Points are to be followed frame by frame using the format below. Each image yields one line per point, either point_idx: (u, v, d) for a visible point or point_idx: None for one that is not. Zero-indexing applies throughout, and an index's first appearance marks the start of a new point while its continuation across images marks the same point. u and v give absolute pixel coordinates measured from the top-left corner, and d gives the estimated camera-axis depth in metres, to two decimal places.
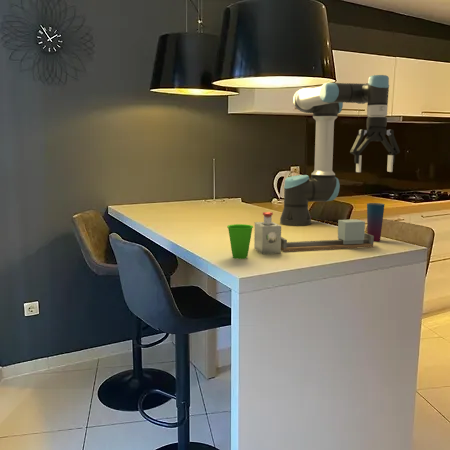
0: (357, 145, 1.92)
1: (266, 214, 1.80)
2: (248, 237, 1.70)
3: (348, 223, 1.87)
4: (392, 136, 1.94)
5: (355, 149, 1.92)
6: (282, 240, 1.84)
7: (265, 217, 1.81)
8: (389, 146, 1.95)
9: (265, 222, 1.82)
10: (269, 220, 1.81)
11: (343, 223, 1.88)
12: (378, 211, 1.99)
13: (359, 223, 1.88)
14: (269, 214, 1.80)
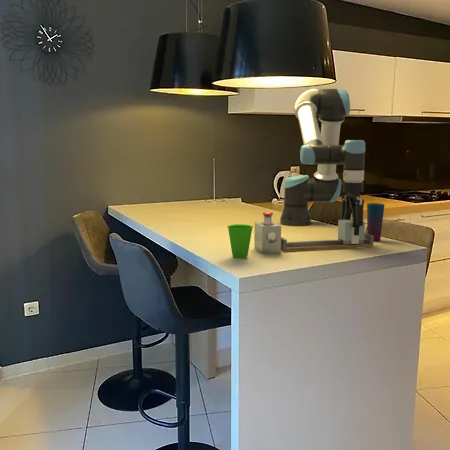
0: (341, 212, 1.95)
1: (266, 214, 1.80)
2: (248, 237, 1.70)
3: (348, 223, 1.87)
4: (356, 206, 1.83)
5: (341, 216, 1.96)
6: (282, 240, 1.84)
7: (265, 217, 1.81)
8: (352, 215, 1.86)
9: (265, 222, 1.82)
10: (269, 220, 1.81)
11: (343, 223, 1.88)
12: (378, 211, 1.99)
13: None
14: (269, 214, 1.80)
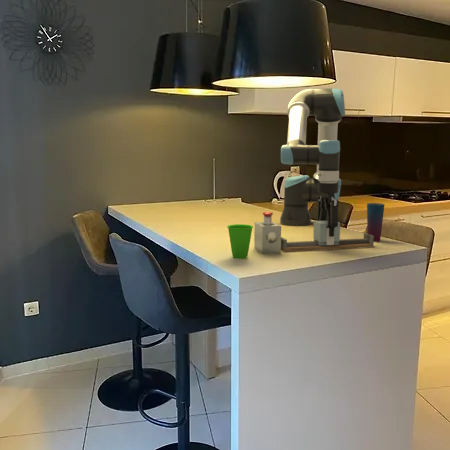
0: (317, 213, 1.93)
1: (266, 214, 1.80)
2: (248, 237, 1.70)
3: (323, 224, 1.84)
4: (331, 207, 1.81)
5: (317, 217, 1.93)
6: (282, 240, 1.84)
7: (265, 217, 1.81)
8: (327, 216, 1.84)
9: (265, 222, 1.82)
10: (269, 220, 1.81)
11: (318, 224, 1.85)
12: (378, 211, 1.99)
13: None
14: (269, 214, 1.80)
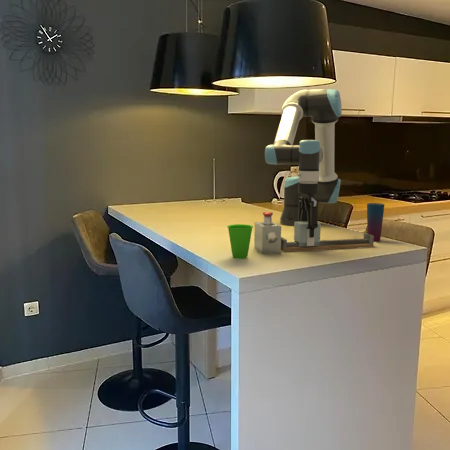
0: (298, 213, 1.91)
1: (266, 214, 1.80)
2: (248, 237, 1.70)
3: (303, 225, 1.83)
4: (310, 207, 1.79)
5: (298, 218, 1.92)
6: (282, 240, 1.84)
7: (265, 217, 1.81)
8: (307, 217, 1.82)
9: (265, 222, 1.82)
10: (269, 220, 1.81)
11: (299, 225, 1.84)
12: (378, 211, 1.99)
13: None
14: (269, 214, 1.80)
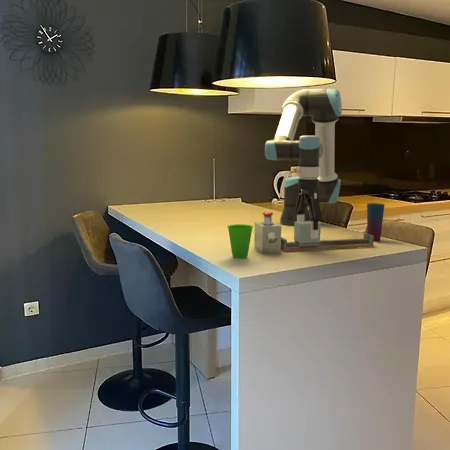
0: (296, 204, 1.93)
1: (266, 214, 1.80)
2: (248, 237, 1.70)
3: (303, 225, 1.83)
4: (311, 200, 1.78)
5: (295, 208, 1.94)
6: (282, 240, 1.84)
7: (265, 217, 1.81)
8: (310, 210, 1.80)
9: (265, 222, 1.82)
10: (269, 220, 1.81)
11: (298, 225, 1.84)
12: (378, 211, 1.99)
13: None
14: (269, 214, 1.80)
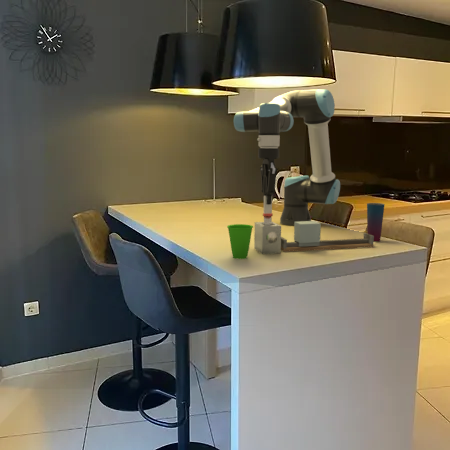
0: (261, 183, 1.83)
1: (266, 215, 1.80)
2: (248, 237, 1.70)
3: (303, 225, 1.83)
4: (269, 174, 1.75)
5: (262, 188, 1.83)
6: (282, 240, 1.84)
7: (265, 218, 1.81)
8: (266, 183, 1.79)
9: (265, 223, 1.82)
10: (269, 221, 1.81)
11: (298, 225, 1.84)
12: (378, 211, 1.99)
13: (314, 225, 1.84)
14: (269, 215, 1.80)
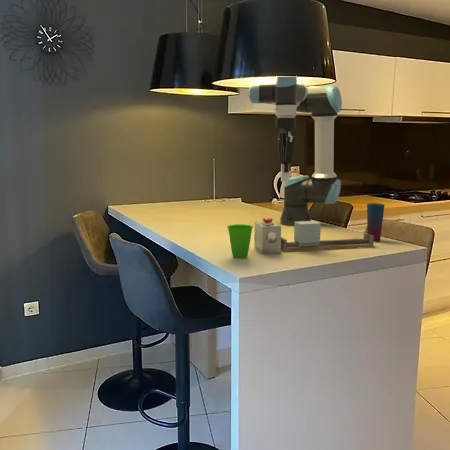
0: (279, 152, 1.90)
1: (266, 220, 1.81)
2: (248, 237, 1.70)
3: (303, 225, 1.83)
4: (286, 143, 1.81)
5: (279, 157, 1.90)
6: (282, 240, 1.84)
7: (265, 223, 1.82)
8: (283, 152, 1.85)
9: None
10: None
11: (298, 225, 1.84)
12: (378, 211, 1.99)
13: (314, 225, 1.84)
14: (269, 220, 1.81)
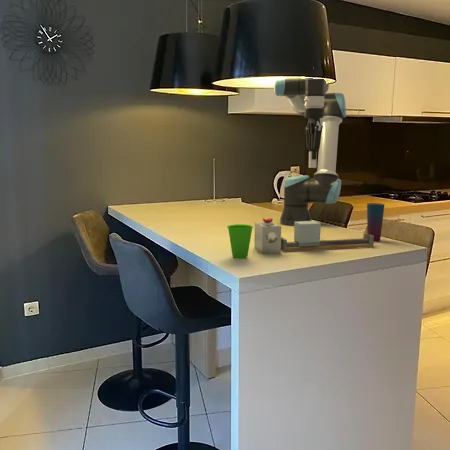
0: (306, 141, 2.04)
1: (266, 220, 1.81)
2: (248, 237, 1.70)
3: (303, 225, 1.83)
4: (315, 131, 1.95)
5: (307, 145, 2.04)
6: (282, 240, 1.84)
7: (265, 223, 1.82)
8: (311, 140, 1.99)
9: None
10: None
11: (298, 225, 1.84)
12: (378, 211, 1.99)
13: (314, 225, 1.84)
14: (269, 220, 1.81)
